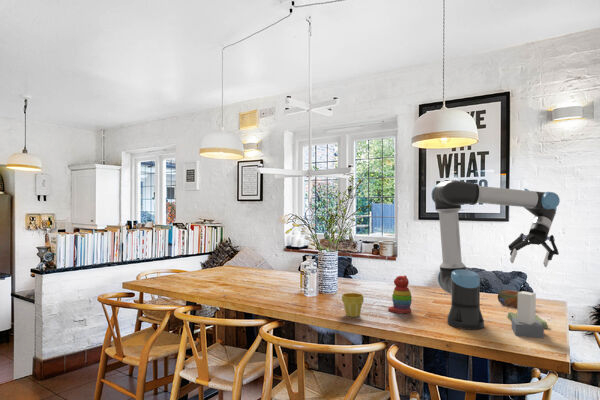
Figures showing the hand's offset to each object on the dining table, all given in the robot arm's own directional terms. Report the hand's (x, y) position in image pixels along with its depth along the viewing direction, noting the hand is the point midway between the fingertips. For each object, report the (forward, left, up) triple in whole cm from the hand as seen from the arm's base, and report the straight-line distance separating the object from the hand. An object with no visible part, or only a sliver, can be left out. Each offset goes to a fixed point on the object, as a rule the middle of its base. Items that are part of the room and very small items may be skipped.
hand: (527, 263), depth 175 cm
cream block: (-6, -11, -23) cm, 26 cm away
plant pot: (-76, +12, -28) cm, 82 cm away
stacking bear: (-51, +21, -28) cm, 62 cm away
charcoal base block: (-6, -11, -28) cm, 30 cm away
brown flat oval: (+10, +34, -28) cm, 45 cm away
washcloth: (+2, +5, -28) cm, 29 cm away
